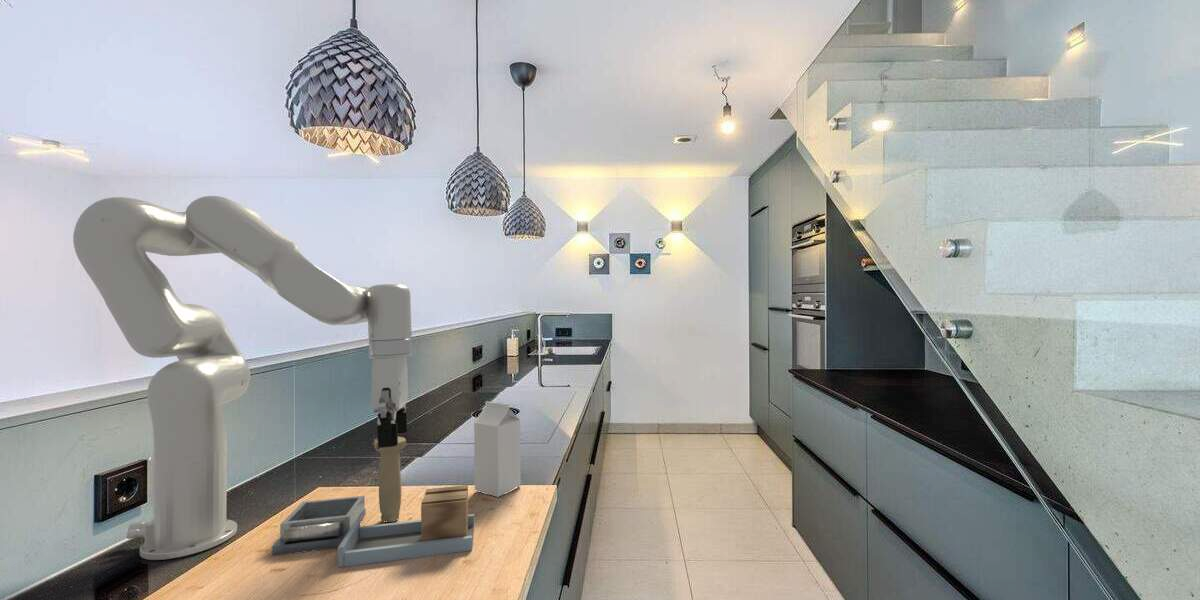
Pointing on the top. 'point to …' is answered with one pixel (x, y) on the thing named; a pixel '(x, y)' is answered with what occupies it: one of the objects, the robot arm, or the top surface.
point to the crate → (444, 513)
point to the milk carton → (497, 450)
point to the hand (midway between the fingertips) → (393, 439)
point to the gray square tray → (319, 524)
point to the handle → (390, 480)
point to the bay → (396, 543)
